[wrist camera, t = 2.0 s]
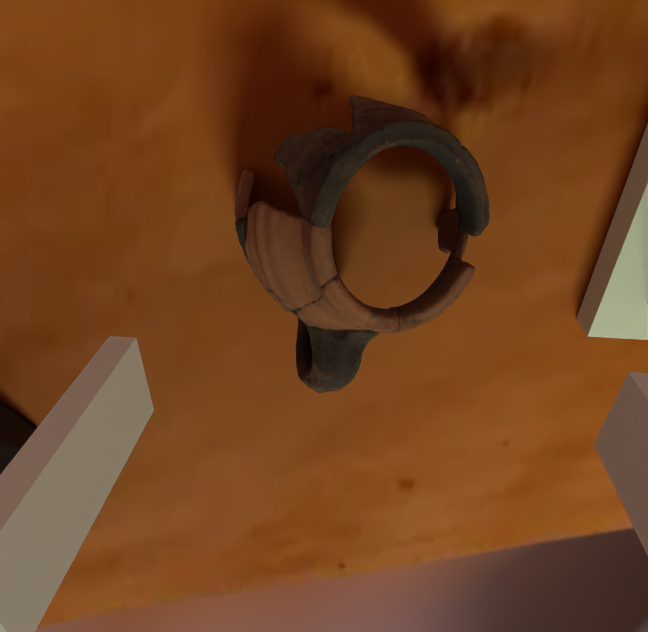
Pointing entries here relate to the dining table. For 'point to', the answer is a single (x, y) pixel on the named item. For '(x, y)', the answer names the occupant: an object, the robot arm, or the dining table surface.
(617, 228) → the build board
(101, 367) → the robot arm
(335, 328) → the pottery mug
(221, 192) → the dining table surface
